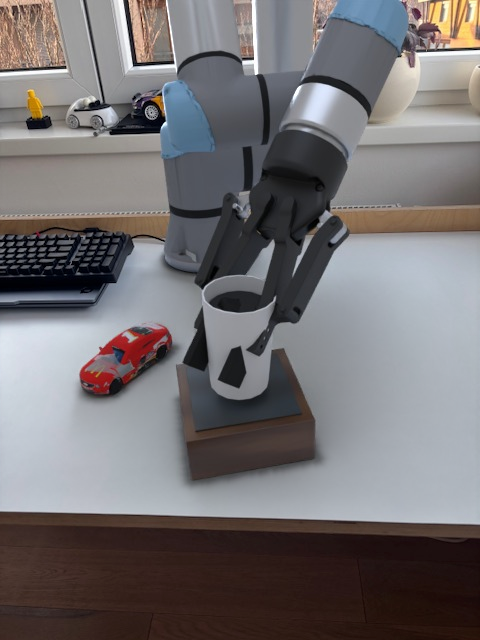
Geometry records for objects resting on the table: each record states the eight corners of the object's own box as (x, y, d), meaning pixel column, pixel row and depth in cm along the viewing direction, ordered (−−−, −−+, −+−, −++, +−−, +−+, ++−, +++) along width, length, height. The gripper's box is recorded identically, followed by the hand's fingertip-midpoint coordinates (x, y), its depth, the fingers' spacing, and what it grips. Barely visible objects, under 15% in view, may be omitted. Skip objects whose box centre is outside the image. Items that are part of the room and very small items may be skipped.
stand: (181, 399, 61) (175, 362, 58) (284, 383, 63) (283, 346, 60) (191, 480, 51) (185, 440, 48) (314, 458, 52) (315, 418, 50)
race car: (102, 405, 61) (95, 377, 59) (72, 388, 64) (64, 361, 62) (181, 348, 70) (177, 321, 68) (151, 335, 73) (146, 310, 71)
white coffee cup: (219, 410, 50) (216, 321, 44) (196, 368, 55) (191, 283, 49) (284, 392, 52) (289, 304, 46) (256, 353, 57) (258, 269, 52)
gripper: (405, 181, 50) (303, 418, 48) (261, 158, 59) (171, 355, 57) (382, 134, 43) (263, 404, 42) (225, 117, 53) (123, 335, 51)
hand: (210, 375), depth 50 cm, fingers closed on white coffee cup, 4 cm apart
